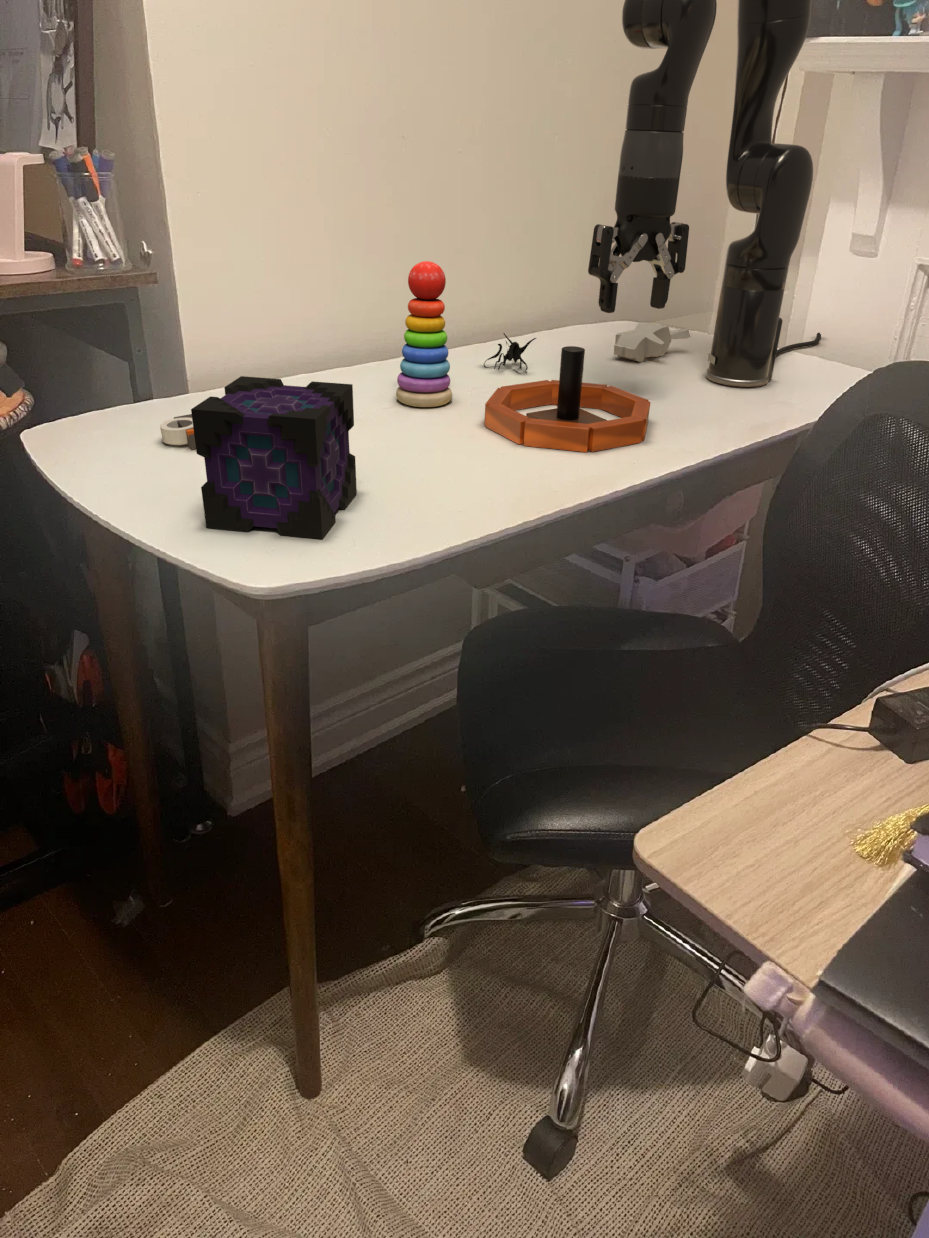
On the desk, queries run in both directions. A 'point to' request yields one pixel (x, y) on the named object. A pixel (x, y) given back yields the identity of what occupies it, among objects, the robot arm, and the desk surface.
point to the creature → (511, 353)
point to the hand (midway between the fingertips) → (632, 309)
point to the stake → (569, 391)
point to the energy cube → (276, 456)
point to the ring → (567, 433)
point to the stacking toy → (425, 341)
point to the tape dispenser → (179, 431)
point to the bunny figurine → (646, 341)
